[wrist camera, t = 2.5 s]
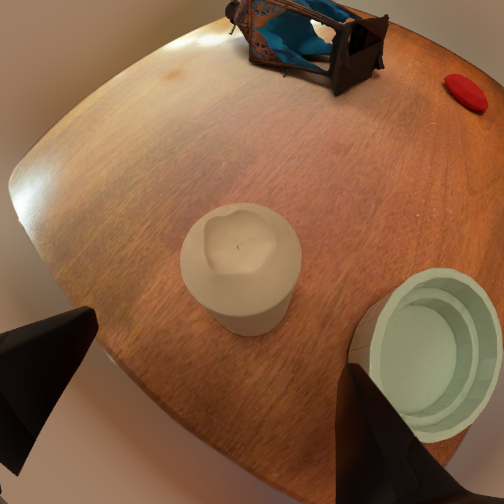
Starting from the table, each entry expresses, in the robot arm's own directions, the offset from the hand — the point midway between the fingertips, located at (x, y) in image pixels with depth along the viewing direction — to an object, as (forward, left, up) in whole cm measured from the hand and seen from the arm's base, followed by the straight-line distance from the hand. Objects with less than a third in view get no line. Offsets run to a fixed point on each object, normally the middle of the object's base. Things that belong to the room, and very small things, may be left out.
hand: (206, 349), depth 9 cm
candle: (+4, +2, -11) cm, 12 cm away
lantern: (+35, +20, -11) cm, 42 cm away
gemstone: (+52, -5, -11) cm, 53 cm away
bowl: (+8, -11, -11) cm, 17 cm away
